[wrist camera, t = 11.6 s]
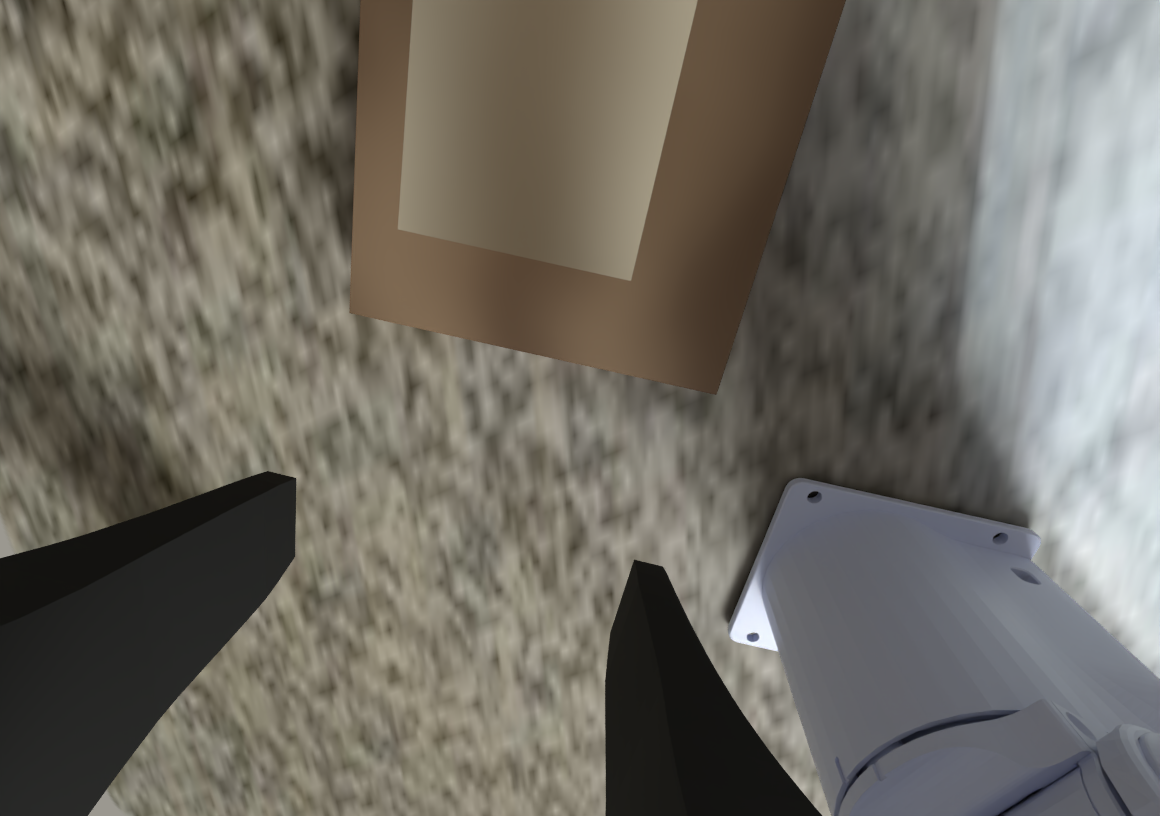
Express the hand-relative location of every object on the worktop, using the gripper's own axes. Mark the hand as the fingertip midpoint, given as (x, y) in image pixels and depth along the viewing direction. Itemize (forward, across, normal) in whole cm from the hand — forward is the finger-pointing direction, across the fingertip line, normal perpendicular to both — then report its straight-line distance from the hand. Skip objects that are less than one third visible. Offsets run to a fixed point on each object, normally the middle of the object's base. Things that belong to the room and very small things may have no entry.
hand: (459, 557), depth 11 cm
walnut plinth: (+9, 0, -8) cm, 12 cm away
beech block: (+7, 0, -8) cm, 11 cm away
